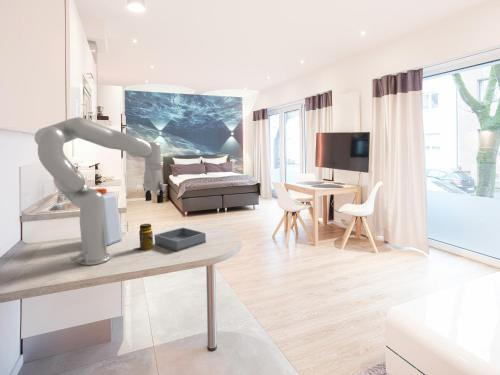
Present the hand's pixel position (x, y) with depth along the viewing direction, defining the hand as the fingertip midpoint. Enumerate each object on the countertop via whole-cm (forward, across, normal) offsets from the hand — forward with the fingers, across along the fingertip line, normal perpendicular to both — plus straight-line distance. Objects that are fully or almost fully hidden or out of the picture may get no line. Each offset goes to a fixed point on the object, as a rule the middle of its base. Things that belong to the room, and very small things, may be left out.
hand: (154, 201), depth 157 cm
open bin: (+22, +8, +9) cm, 25 cm away
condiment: (+22, +1, -7) cm, 24 cm away
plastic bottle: (+22, -26, -14) cm, 37 cm away
